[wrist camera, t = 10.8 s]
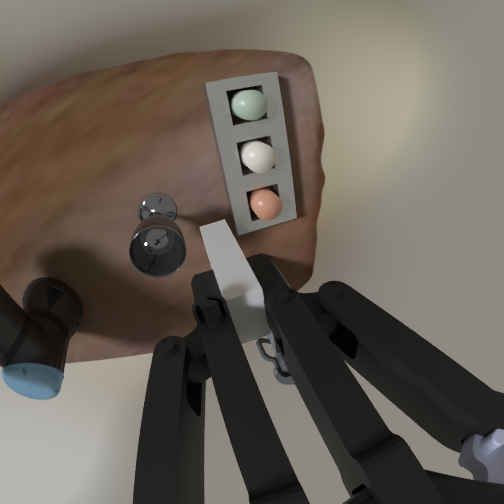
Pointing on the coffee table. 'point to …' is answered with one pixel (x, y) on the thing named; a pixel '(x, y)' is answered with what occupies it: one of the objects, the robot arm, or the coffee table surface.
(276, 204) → the brown egg
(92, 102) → the coffee table surface
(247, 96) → the pale green rounded egg
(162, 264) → the wine glass
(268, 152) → the white egg
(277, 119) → the panel
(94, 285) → the coffee table surface
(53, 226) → the coffee table surface
